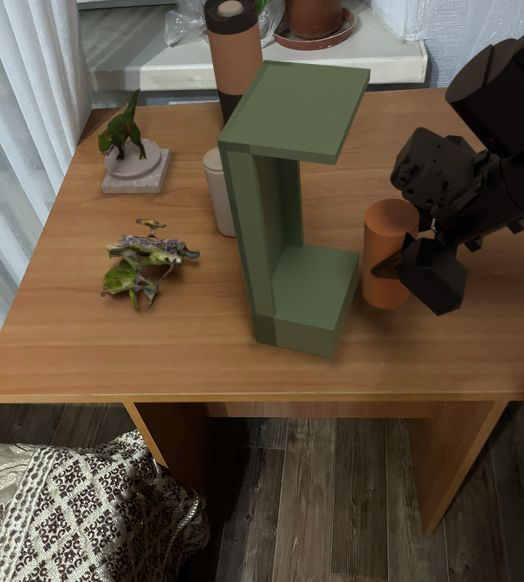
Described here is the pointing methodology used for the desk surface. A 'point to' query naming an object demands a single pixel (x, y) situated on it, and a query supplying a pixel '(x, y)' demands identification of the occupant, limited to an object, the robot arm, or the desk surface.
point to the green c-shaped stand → (290, 200)
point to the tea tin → (386, 248)
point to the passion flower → (144, 247)
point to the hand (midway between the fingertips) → (379, 254)
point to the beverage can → (218, 192)
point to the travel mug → (233, 48)
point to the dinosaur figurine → (131, 156)
